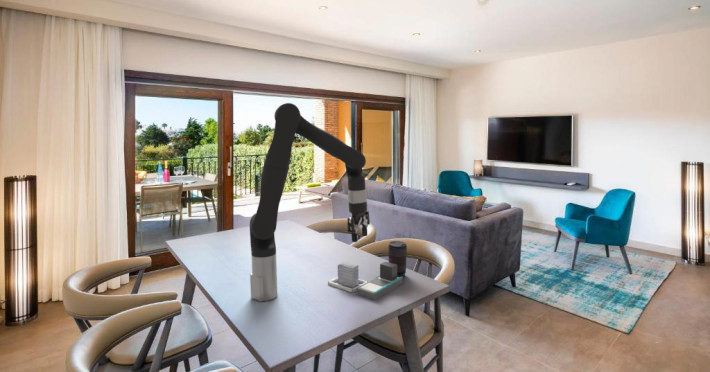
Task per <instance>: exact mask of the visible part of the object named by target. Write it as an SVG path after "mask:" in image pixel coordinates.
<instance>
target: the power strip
mask: <svg viewBox="0 0 710 372" xmlns="http://www.w3.org/2000/svg"><path fill="white" fill-rule="evenodd" d="M403 279H404V277H402V276H401V277H397V264H393V263H389V261H384V262H381V263H380V264H379V275H378V276H377V277H374V278H373V279H371V280H369V281H368V282H367V283H365V284H363V283H362V284H363V285H361V284H360V285H361V286H359V285H358V286H359V287H357V286H356V287H357V291H356V294H357V295H359V296H362V297H365V298H368V299H371V300H374V301H376V300H378V299H379V298H381V297H382V296H385V295H386V294H387V293H389V292H391V291H393V290H395V289H396V288H398V287H399V286H401V285H403V283H404V282H403Z"/></svg>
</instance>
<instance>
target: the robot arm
mask: <svg viewBox="0 0 710 372" xmlns="http://www.w3.org/2000/svg"><path fill="white" fill-rule="evenodd" d="M301 114H302V113H301V111H300V109H299V107H298V106H297V105H295V104H294V103H292V102H285V103H282V104H280V105H279V106H278V107H277V108H276V109H275V111H274V121H275V123H274V130H273V136H272V137H273V138H272V140H271V142H270V143H271V144H270V145H269V148H268V150H267V153H266V156H265V159H264V163H263V166H262V170H261V171H262V172H261V177H260V186H259V187H260V189H259V190H260V191H259V203H258V206H257V208H256V211H255V212H256V213H254V214H253V215H252V216H251V217H250V220H249V237H250V250H251V251H250V252H251V253H250V254H251V273H250V274H249V282H250V298H251V299H253V300H255V301H258V302H259V303H262V302H267V301H272V300H274V299H276V298H277V297H278V274H277V273H278V268H277V267H278V265H277V245H276V238H275V232H276V230H277V223H278V214H279V208H280V203H281V199H282V197H283V193H284V189H285V186H286V182H287V178H288V173H289V169H290V165H291V164H290V163H291V157H292V150H293V143H294V141H295V140H294V139H295V136H296V134H297V135H299V136H301V137H302V138H304V139H306V140H307V141H308V142H310V143H312V144H313V145H315V146H316V147H318V148H319V149H321V150H322V151H324V152H326V153H327V154H328V155H330V156H331V157H333V158H335V159H338V160H339V161H341V162H342V163H344V167H345V172H346V176H347V177H346V178H347V191H348V195H347V197H348V198H347V199H348V201H347V202H348V212H349V213H350V214H351V217H347V233H349V234H351V242H352V243H358V242H359V241H358V230H359V228H360V226H361V235H362V236H361V237H368V227H369V225H370V223H371V222H370V212H369V210H368V202H367V201H368V197H367V190H366V180H365V179H366V178H365V175H363V168H364V167H365V166H366V163H367V160H366V159H367V158H366V156H365V155H364V154H363V152H360V151H359V150H357V149H355V148H354V147H352V146H349V145H348V144H346V143H345V142H344V141H342V140H341V139H340V138H338V137H337V136H335V135H333V134H332V133H330V132H328V131H326V130H325V129H322V128H320V127H318V126H316V125H314V124H312V123H311V122H310V121H308V120H307V119H306V118H304V117H303V116H302V115H301Z"/></svg>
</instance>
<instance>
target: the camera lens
mask: <svg viewBox="0 0 710 372" xmlns="http://www.w3.org/2000/svg"><path fill="white" fill-rule="evenodd" d="M407 248H408V246H407V242H405V241H401V240H393V241H390V242H389V243H388V249H387V251H388V262H389V263H393V264H397V277H401V276H402V277H403V278H404V277H405V275H406V273H407V272H406V271H407V253H408V252H407V250H408V249H407Z"/></svg>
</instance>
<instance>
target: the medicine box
mask: <svg viewBox="0 0 710 372" xmlns="http://www.w3.org/2000/svg"><path fill="white" fill-rule="evenodd" d="M337 277H338V281H337V284H340V285H342V286H345V287H348V288H351V289H353V288H355V287H357V286H359V285H360V284H359V279H360V278H359V265H358V264H355V263H351V262H350V263H349V262H346V261H343V262H341V263H338V264H337Z"/></svg>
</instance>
